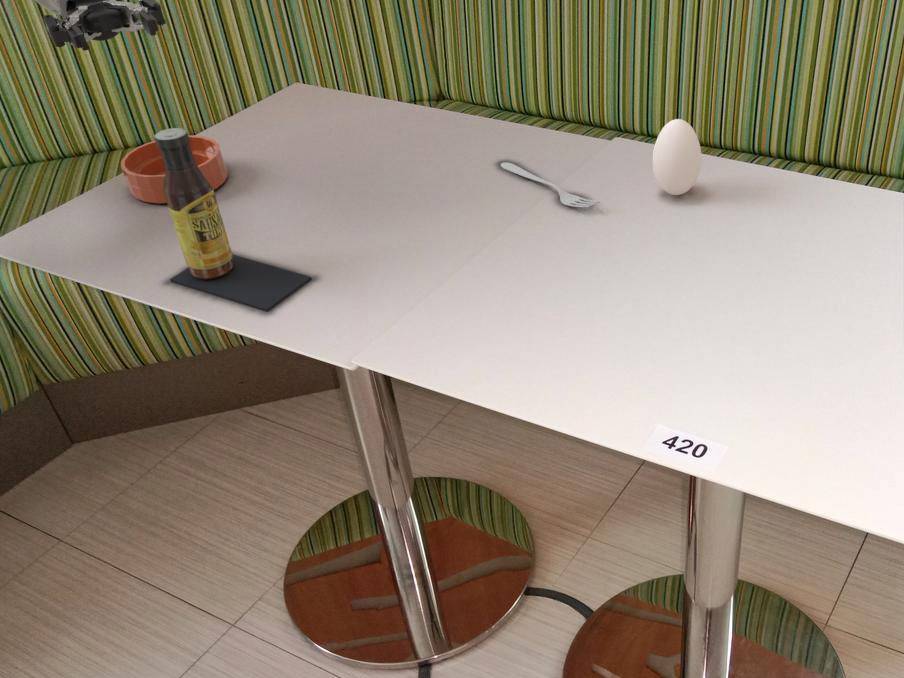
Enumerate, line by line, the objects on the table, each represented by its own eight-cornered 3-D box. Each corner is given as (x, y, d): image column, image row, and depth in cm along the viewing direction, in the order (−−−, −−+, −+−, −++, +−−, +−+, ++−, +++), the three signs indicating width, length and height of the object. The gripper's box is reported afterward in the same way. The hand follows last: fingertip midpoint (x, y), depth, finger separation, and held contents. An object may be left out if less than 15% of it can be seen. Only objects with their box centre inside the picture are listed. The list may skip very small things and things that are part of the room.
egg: (709, 195, 150) (713, 121, 142) (671, 209, 147) (672, 134, 139) (681, 178, 154) (682, 105, 147) (643, 191, 152) (642, 118, 144)
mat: (170, 282, 136) (169, 279, 136) (217, 252, 142) (216, 249, 141) (267, 312, 129) (266, 309, 129) (312, 279, 135) (311, 276, 135)
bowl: (132, 213, 152) (120, 183, 149) (132, 173, 163) (121, 145, 159) (231, 195, 156) (222, 165, 152) (225, 157, 166) (216, 129, 163)
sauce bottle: (216, 285, 134) (168, 148, 121) (181, 277, 136) (130, 141, 123) (246, 262, 138) (204, 127, 125) (212, 254, 140) (167, 121, 127)
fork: (509, 160, 161) (508, 150, 160) (603, 211, 147) (603, 200, 146) (494, 166, 160) (493, 156, 159) (587, 218, 146) (586, 207, 145)
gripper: (22, -14, 129) (48, 16, 119) (131, -35, 135) (164, -8, 125) (45, 43, 134) (72, 77, 124) (149, 21, 140) (182, 51, 130)
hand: (118, 34), depth 124 cm, fingers open, 8 cm apart
